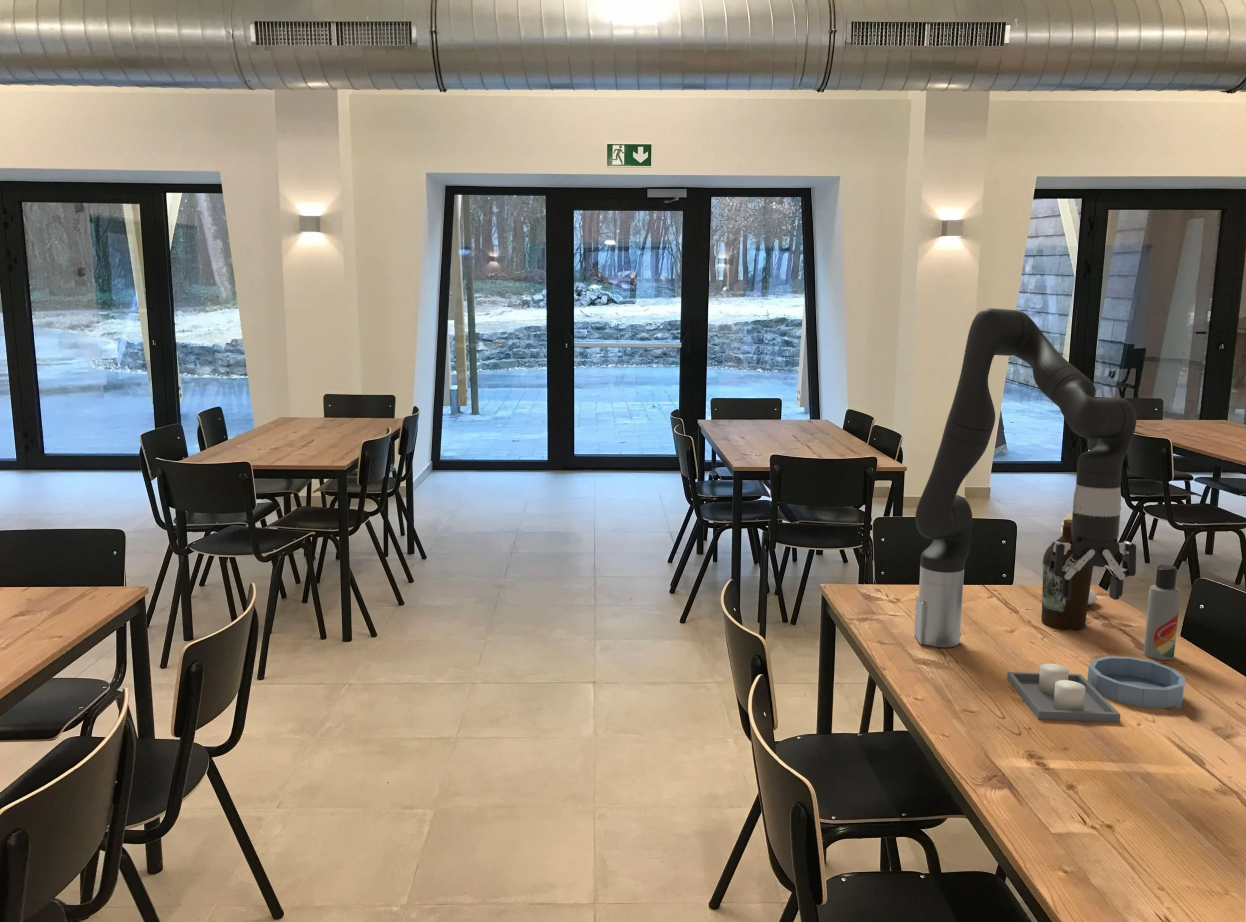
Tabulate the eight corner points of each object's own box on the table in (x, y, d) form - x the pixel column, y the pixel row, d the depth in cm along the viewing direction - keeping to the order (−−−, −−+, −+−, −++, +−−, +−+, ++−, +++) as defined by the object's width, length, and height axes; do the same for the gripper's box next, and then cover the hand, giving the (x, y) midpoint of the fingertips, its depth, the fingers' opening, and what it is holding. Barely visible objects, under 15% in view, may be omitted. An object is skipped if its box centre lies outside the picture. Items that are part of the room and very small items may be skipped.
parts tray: (1038, 724, 165) (1039, 711, 165) (1006, 683, 183) (1007, 671, 183) (1119, 727, 164) (1120, 714, 164) (1079, 686, 182) (1080, 674, 181)
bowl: (1108, 710, 171) (1110, 687, 170) (1075, 676, 186) (1077, 655, 186) (1199, 713, 169) (1201, 690, 168) (1157, 679, 185) (1160, 657, 184)
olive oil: (1061, 613, 224) (1069, 514, 220) (1098, 627, 214) (1107, 523, 210) (1028, 619, 220) (1035, 518, 216) (1064, 634, 210) (1073, 528, 206)
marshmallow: (1043, 695, 175) (1045, 673, 174) (1034, 684, 180) (1036, 663, 179) (1070, 696, 175) (1072, 674, 174) (1061, 685, 179) (1063, 664, 179)
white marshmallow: (1059, 713, 167) (1061, 690, 166) (1049, 702, 172) (1051, 679, 171) (1087, 715, 167) (1089, 691, 166) (1077, 703, 172) (1079, 680, 171)
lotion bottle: (1178, 661, 194) (1187, 570, 190) (1148, 659, 195) (1157, 569, 192) (1168, 651, 199) (1177, 562, 196) (1139, 649, 200) (1148, 561, 197)
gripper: (1126, 506, 166) (1119, 592, 169) (1046, 506, 167) (1041, 592, 169) (1148, 514, 159) (1141, 605, 161) (1065, 514, 159) (1059, 604, 162)
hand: (1089, 598), depth 165 cm, fingers open, 8 cm apart
